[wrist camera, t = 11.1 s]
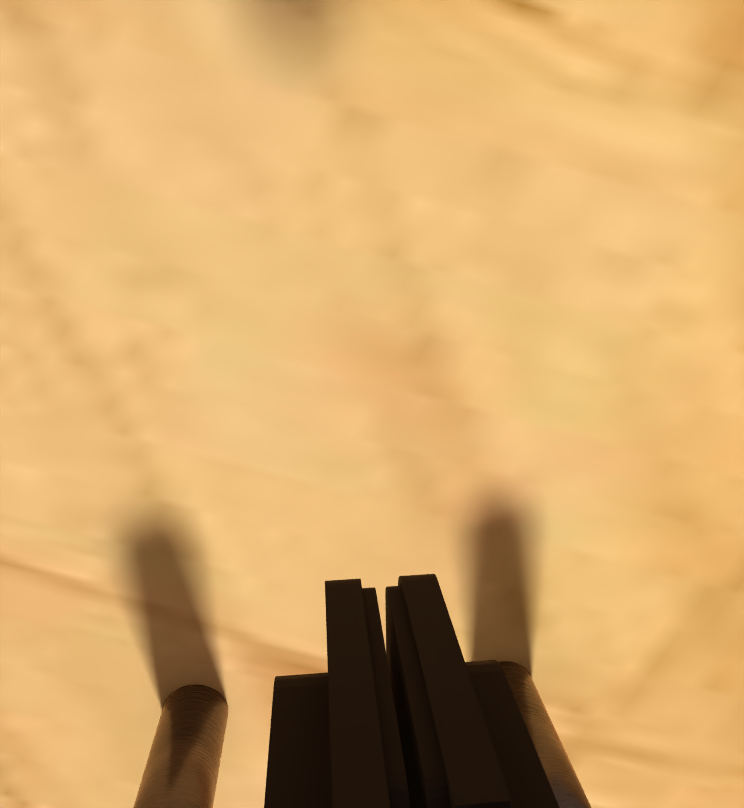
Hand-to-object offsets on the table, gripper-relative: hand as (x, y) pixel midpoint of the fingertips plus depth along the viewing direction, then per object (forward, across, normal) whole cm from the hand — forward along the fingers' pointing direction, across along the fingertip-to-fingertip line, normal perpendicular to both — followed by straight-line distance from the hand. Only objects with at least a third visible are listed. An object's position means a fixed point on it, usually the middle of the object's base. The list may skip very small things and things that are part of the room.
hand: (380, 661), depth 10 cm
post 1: (+14, +6, +13) cm, 20 cm away
